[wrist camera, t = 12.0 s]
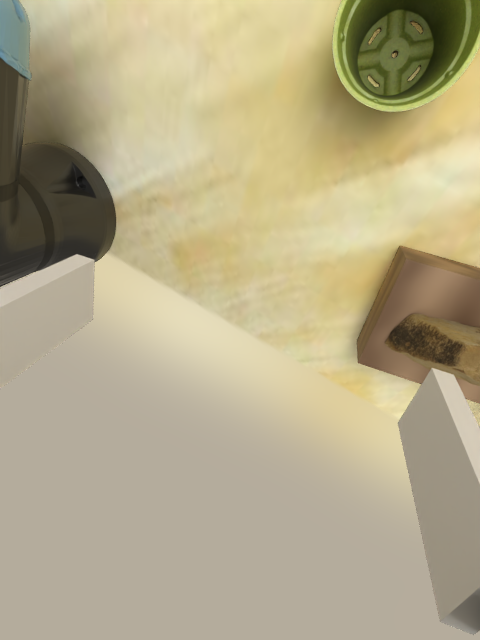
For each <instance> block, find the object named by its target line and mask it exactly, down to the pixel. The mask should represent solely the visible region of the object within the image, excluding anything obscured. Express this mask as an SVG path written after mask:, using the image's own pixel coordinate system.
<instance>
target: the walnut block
mask: <svg viewBox="0 0 480 640" xmlns="http://www.w3.org/2000/svg"><path fill="white" fill-rule="evenodd" d="M412 314H423V315H426V316H428V317H434V318H440V319H441V318H442V319H445V320H448V321H455V322H459V323H461V324H464V325H468V326H474V327H480V268H477V267H474V266H470V265H467V264H463V263H460V262H456V261H453V260H449V259H445V258H442V257H438V256H435V255H431V254H428V253H424V252H421V251H417V250H414V249H410V248H407V247H403V246H400V247H399V249H398V251H397V253H396V255H395V258H394V260H393V262H392V264H391V267H390V269H389V271H388V273H387V275H386V278H385V280H384V282H383V284H382V286H381V289H380V291H379V293H378V295H377V298H376V300H375V302H374V304H373V306H372V309H371V311H370V313H369V315H368V318H367V320H366V322H365V324H364V326H363V329H362V331H361V333H360V335H359V338H358V340H357V354H358V363H360V364H363V365H366V366H369V367H372V368H375V369H378V370H381V371H384V372H387V373H390V374H393V375H396V376H399V377H402V378H405V379H408V380H411V381H414V382H417V383H420V384H422V383H423V381H424V380H425V378H426V377H427V375H428V373H429V372H430V370H429V369H427V368H425V367H424V366H422V365H420V364H419V363H416V362H414V361H413V360H411V359H410V358H409V357H407V356H406V355H403V354H401V353H398V352H395V351H392V350H391V349H390V348H389V347H387V346H386V344H385V342H386V340H387V339H388V337H389V335H390V333H391V332H392V330H393V329H394V328H395V327H396V326H398V325H399V324H400V323H401V322H402V321H404V320H405V319H406V318H407V317H409V316H410V315H412ZM455 378H456V377H455ZM456 380H457V382H458V384H459V386H460V389H461V391H462V393H463V395H464V397H465V399H468V400H471V401H474V402H477V403H480V386H477V385H473V384H470V383H468V382H466V381H464V380H462V379H459V378H456Z"/></svg>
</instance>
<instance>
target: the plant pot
mask: <svg viewBox="0 0 480 640" xmlns="http://www.w3.org/2000/svg"><path fill="white" fill-rule="evenodd" d="M410 21H415V22H417V23H419V24H420V25H421V27H422V28H423V33H422V34H419V32H418V31H417V29H416V28H415V27H414V26H412V24H410ZM378 28H381V32H380V33H379V34H378V35H377V36H376V37H375V39H374V40H373V41H372V43H371V45H368V41H369V40H370V38H371V37H372V35H373V33H374V32H375V31H376V30H377V29H378ZM479 48H480V0H342V1H341V3H340V6H339V9H338V12H337V15H336V18H335V23H334V29H333V40H332V51H333V59H334V64H335V68H336V71H337V74H338V76H339V78H340V81H341V82H342V84H343V86H344V87H345V88H346V90H347V91H348V92H349V93H350V94H351V95H352V96H353V97H354V98H355V99H356V100H357V101H359V102H360V103H362V104H364V105H366V106H368V107H370V108H373V109H375V110H379V111H384V112H401V111H407V110H411V109H415V108H418V107H420V106H423V105H425V104H427V103H429V102H431V101H433V100H434V99H436V98H437V97H439V96H440V95H442V94H443V93H444V92H445V91H447V90H448V89H449V88H450V87H451V86H452V85H453V84H454V83H455V82H456V81H457V80H458V79H459V78H460V77H461V76H462V74H463V73H464V72H465V71H466V69H467V68H468V67H469V65H470V64H471V62H472V61H473V59H474V57H475V55H476V54H477V52H478V50H479ZM394 51H397V52H398V55H397V57H395V58H392V53H393V52H394ZM419 65H421V69H420V71H419V73H418V74H417V75H416V76H415V78H414V79H412V80H411V81H407V79H408V78H409V77H410V76H411V75H412V74H413V73H414V72H415V70H416V69H417V68H418V66H419ZM368 75H371V77H372V78H373V79H374V80H375V81H376V82H377V83H379V84H380V86H379V87H374V86H373V85H372V84H371V83H370V82H369V80H368Z"/></svg>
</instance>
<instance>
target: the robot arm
mask: <svg viewBox="0 0 480 640" xmlns="http://www.w3.org/2000/svg"><path fill="white" fill-rule="evenodd" d="M29 51H30V23H29V19H28V15H27V13H26V11H25V9H24V7H23V5H22V4H21V2H20V1H19V0H0V287H1V286H3V285H5V284H8V283H10V282H12V281H14V280H17V279H19V278H22V277H24V276H26V275H29V274H30V273H33V272H36V271H38V272H36V273H34V274H31V275H29V276H27V277H25V278H22V279H20V280H18V281H16V282H14V283H11V284H9V285H7V286H5V287H3V288H0V389H1V388H2V387H3V386H5V385H6V384H7V383H9V382H10V381H11V380H13V379H14V378H15V377H16V376H18V375H19V374H21V373H22V372H23V371H25V370H26V369H27V368H29V367H30V366H31V365H33V364H34V363H36V362H37V361H38V360H40V359H41V358H42V357H44V356H45V355H46V354H48V353H49V352H50V351H52V350H53V349H54V348H56V347H57V346H58V345H60V344H61V343H62V342H64V341H65V340H66V339H68V338H69V337H70V336H72V335H73V334H74V333H76V332H77V331H78V330H80V329H81V328H82V327H84V326H85V325H87V324H88V323H89V322H91V321H92V320H93V298H94V297H93V296H94V263H95V262H96V261H98V260H99V259H101V258H102V257H103V256H104V255H105V254H106V252H107V251H108V250H109V248H110V246H111V244H112V241H113V238H114V234H115V227H116V217H115V209H114V205H113V201H112V197H111V195H110V192H109V190H108V187H107V186H106V184H105V182H104V180H103V178H102V177H101V175H100V174H99V172H98V171H97V170H96V169H95V167H94V166H93V165H92V164H91V163H90V162H89V161H88V160H87V159H86V158H85V157H83V156H82V155H81V154H79V153H78V152H76V151H75V150H73V149H71V148H69V147H67V146H64V145H61V144H57V143H30V144H26V145H22V143H23V132H24V122H25V112H26V103H27V93H28V84H29V80H30V81H31V78H32V76H31V73H30V71H29ZM398 426H399V431H400V436H401V440H402V445H403V450H404V455H405V459H406V464H407V468H408V473H409V478H410V482H411V487H412V492H413V497H414V502H415V506H416V511H417V516H418V520H419V525H420V530H421V534H422V539H423V544H424V549H425V553H426V558H427V563H428V567H429V571H430V577H431V581H432V586H433V591H434V595H435V600H436V605H437V610H438V614H439V619H440V622H442V623H444V624H447V625H450V626H452V627H455V628H457V629H460V630H462V631H465V632H467V633H470V634H473V635H474V634H476V633H477V632H478V631H479V630H480V427H479V425H478V423H477V421H476V419H475V417H474V415H473V413H472V411H471V409H470V407H469V405H468V403H467V401H466V399H465V397H464V395H463V393H462V391H461V389H460V386H459V384H458V382H457V380H456V378H455V376H454V375H453V374H450V373H447V372H443V371H440V370H437V369H434V368H431V370H430V372H429V373H428V375H427V377H426V378H425V380H424V381H423V383H422V385H421V386H420V388H419V389H418V391H417V393H416V394H415V396H414V397H413V399H412V401H411V402H410V404H409V406H408V407H407V409H406V410H405V412H404V414H403V415H402V417H401V418H400V420H399V422H398Z"/></svg>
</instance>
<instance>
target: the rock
mask: <svg viewBox="0 0 480 640" xmlns="http://www.w3.org/2000/svg"><path fill="white" fill-rule="evenodd" d="M385 344H386V346H387V347H389V348H390V349H391V350H392V351H395V352H398V353H401V354H403V355H406V356H407V357H409V358H410V359H411V360H413V361H414V362H416V363H419V364H420V365H422V366H424V367H425V368H427V369H429V370H431V368H434V369H437V370H440V371H443V372H447V373H450V374H453V375H454V376H455V377H456V378H459V379H462V380H464V381H466V382H468V383H470V384H473V385H477V386H480V327H474V326H468V325H464V324H461V323H459V322H455V321H448V320H445V319H442V318H441V319H440V318H434V317H428V316H426V315H423V314H412V315H410V316H409V317H407V318H406V319H405V320H404V321H402V322H401V323H400V324H399V325H398V326H396V327H395V328H394V329H393V330H392V332H391V333H390V335H389V337H388V339H387V340H386V342H385Z"/></svg>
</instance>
